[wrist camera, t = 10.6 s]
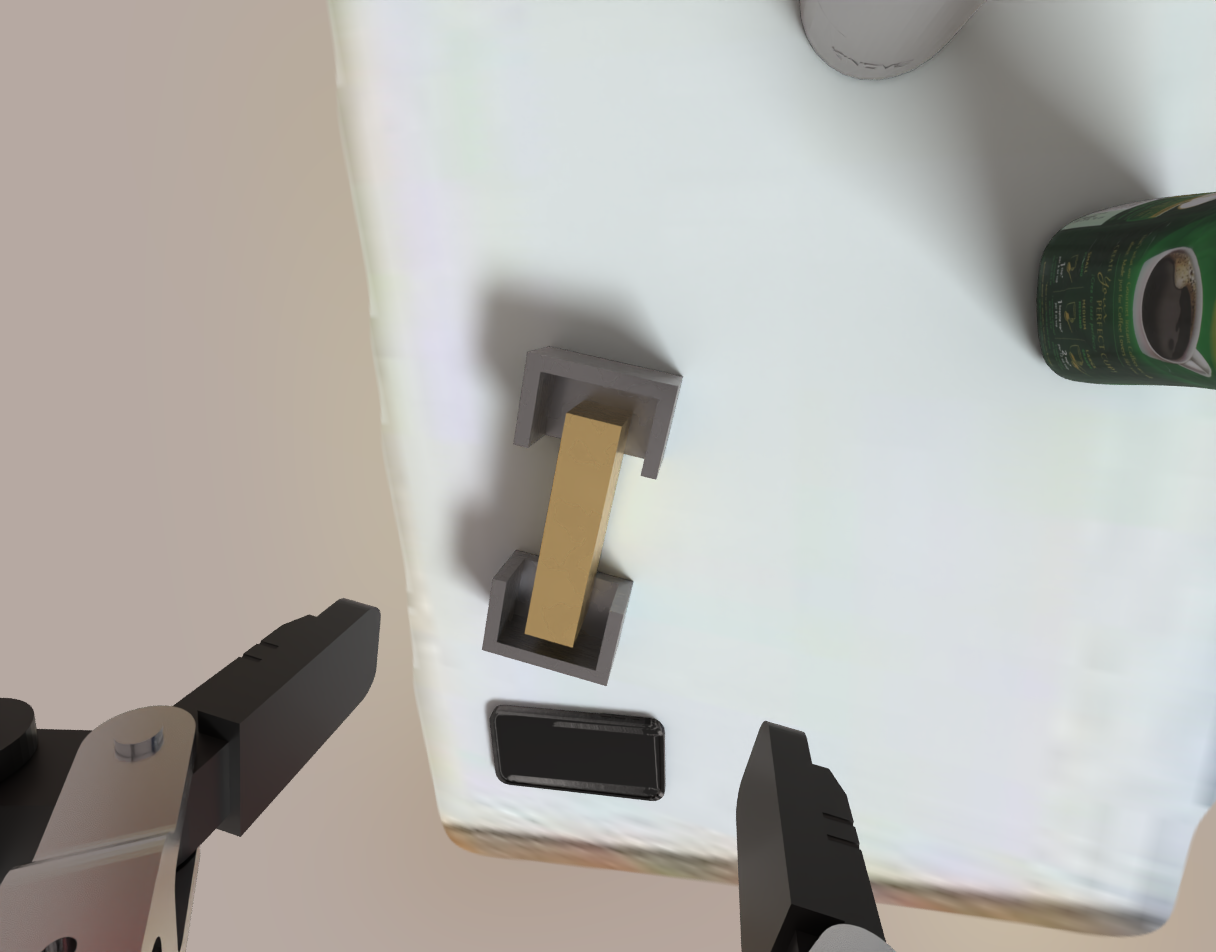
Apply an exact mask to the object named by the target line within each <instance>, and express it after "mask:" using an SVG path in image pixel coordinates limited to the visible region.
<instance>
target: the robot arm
mask: <svg viewBox="0 0 1216 952" xmlns="http://www.w3.org/2000/svg"><path fill="white" fill-rule="evenodd" d="M985 1H986V0H799V2H800V12H801V20H802V23H803V26H804V29H805V32H806V36H807V38H808V40H809V42H810V43H811V45H812V47H813V48H814V50H815V52H816V53H817V54H818V55H819V56H820V57H821V58H822V59H823V60H824V61H825V62H826V63H827V64H828V65H829V66H830V67H832V68H834V69H835V70H837V71H839V72H840V73H842V74H844V75H847V76H851V77H854V78H858V79H868V80H880V79H885V78H891V77H896V76H899V75H901V74H904V73H906V72H908V71H911V70H913V69H915V68H917V67H918V66H920V65H922V64H923V63H925V62H926V61H928V60H929V59H931V58H932V57H933V56H934V55H935V54H937V53H938V52H939V51H940V50H941V49H942V48H943V47H944V46H945V45H946V44H947V43H948V42H949V41H950V40H951V39H952V38H953V37H954V36H955V34H956V33H957V32H958V31H959V30H960V29H961V28H962V27H963V25H964V24H965V23H966V22H967V21H968V20H969V19H970V18H971V16H972V15H973V14H974V13H975V12H976V11H977V10H978V9H979V8H980V7H981V6H982V5H983V3H984V2H985ZM380 616H381V615H380V610H379V609H378V608H376V607H373V606H370V605H366V604H363V603H359V602H356V601H352V600H349V599H345V598H343V599H339V600H338V601H336V602H335V603H334V604H332V605H331V606H330V607H329V608H327V609H326V610H325V611H323V612H322V613H321V614H320V615H319V616H317V617H315V616H312V615H307V616H304V617H302V618H299V619H297V620H294V621H292V622H289V623H286V624H284V625H282V626H280V627H279V628H278V629H276V630H275V631H273V632H272V633H271V634H270V635H268V636H267V637H265V638H264V639H263V640H261V643H260V644H256V645H255V646H253V647H252V648H251V649H249V650H248V651H247V652H245V653H244V654H243V657H242V658H241V657H238V658H237V659H236V660H234V661H233V662H232V663H230V664H229V665H228V666H226V667H225V668H224V669H222V670H221V671H219V672H218V673H217V674H215V675H214V676H213V677H211V678H210V679H209V680H207V681H206V682H205V683H203V684H202V685H200V686H199V687H198V688H196V689H195V690H194V691H192V692H191V693H190V694H188V695H187V696H186V697H184V698H183V699H182V700H180V701H179V702H178V703H176V704H175V705H174V706H149V707H144V708H138V709H135V710H131V711H128V712H125V713H123V714H120V715H117V716H115V717H114V718H111V719H109V720H108V721H106V722H104V723H103V724H101V725H99V726H98V727H97V728H95V729H94V730H93V731H90V730H89V731H88V730H54V729H36V723H35V717H34V711H33V709H32V707H31V706H30V705H28V704H27V703H26V702H23V701H21V700H17V699H11V698H0V952H186V947H187V940H188V933H189V927H190V920H191V914H192V907H193V900H194V893H195V887H196V880H197V873H198V867H199V861H200V845H201V844H202V843H203V842H204V841H205V839H207V837H208V836H209V835H210V834H211V833H212V832H213V831H214V830H215V829H219V830H222V831H226V832H228V833H231V834H234V835H237V836H240V837H241V836H242V835H243V833H244V832H245V831H246V830H247V829H248V828H249V827H250V826H251V825H252V823H253V822H254V821H255V820H256V819H257V818H258V817H259V816H260V814H261V813H262V812H263V811H264V810H265V809H266V808H267V807H268V806H269V804H270V803H271V802H272V801H273V800H274V799H275V798H276V797H277V795H278V794H279V793H280V792H281V791H282V790H283V789H284V787H285V786H286V785H287V784H288V783H289V782H290V781H291V780H292V779H293V777H294V776H295V775H296V774H297V773H298V772H299V771H300V769H301V768H302V767H303V766H304V765H305V764H306V763H307V762H308V761H309V760H310V758H311V757H312V756H313V755H314V754H315V753H316V752H317V751H318V749H319V748H320V747H321V746H322V745H323V744H324V742H326V740H327V739H328V738H329V737H330V736H331V735H332V734H333V733H334V731H335V730H336V729H337V728H338V727H339V726H340V725H341V724H342V723H343V721H344V720H345V719H346V718H347V717H348V716H349V714H351V712H352V711H353V710H354V709H355V708H356V707H357V706H358V705H359V703H360V702H361V701H362V700H363V699H364V697H365V696H366V694H367V693H368V691H369V689H370V687H371V684H372V682H373V680H374V677H375V673H376V665H377V654H378V642H379V630H380ZM853 822H854V821H853V818H852V814H851V810H850V806H849V803H848V799H847V795H846V794H845V792H844V791H843V789H842V788H841V786H840V785H839V783H838V782H837V780H836V779H835V777H834V776H833V774H832V773H831V771H830V770H829V769H828V768H824V767H821V766H818V765H814V764H812V761H811V756H810V752H809V747H808V742H807V738H806V735H805V733H804V732H802V731H799V730H795V729H792V728H788V727H785V726H781V725H778V724H774V723H771V722H767V721H764V722H763V723H762V725H761V727H760V730H759V732H758V735H757V738H756V741H755V744H754V746H753V749H752V752H751V755H750V758H749V761H748V763H747V766H746V769H745V772H744V775H743V777H742V780H741V784H740V788H739V793H738V799H737V808H736V826H737V850H738V875H739V898H740V922H741V947H742V952H895V951H894V949H893V948H891V946H889V945H888V944H887V943H886V940H885V937H884V933H883V930H882V926H881V922H880V918H879V915H878V911H877V907H876V903H875V900H874V896H873V892H872V889H871V885H870V881H869V877H868V874H867V870H866V866H865V862H864V859H863V855H862V851H861V850H860V849H859V840H858V836H857V832H856V829H855V827H853Z"/></svg>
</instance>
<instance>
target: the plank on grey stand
mask: <svg viewBox="0 0 1216 952" xmlns="http://www.w3.org/2000/svg"><path fill="white" fill-rule="evenodd" d="M682 378H683V376H678V375H674V374H670V373H665V372H661V371H656V370H652V369H647V368H643V367H639V366H634V365H630V364H625V363H621V362H617V361H612V360H608V359H603V358H599V357H595V356H590V355H586V354H581V353H577V352H572V351H568V350H564V349H559V348H555V347H550V346H549V347H545V348H541V349H537V350H533V351H529V352H527V359H526V365H525V372H524V379H523V385H522V392H521V398H520V405H519V411H518V418H517V424H516V431H515V437H514V444H515V445H519V446H523V447H527V448H528V447H530V446H531V445H532V444H534V443H535V442H536V441H538V440H539V439H540V438H542V437H543V436H544V435H549V436H553V437H557V438H562V433H563V427H564V422H565V417H566V413H567V412H568V411H570V410H571V409H572V408H574V407H575V406H576V405H578V404H579V403H581V402H582V401H583V400H586V401H590V402H594V403H598V404H602V405H606V406H610V407H615V408H619V409H623V410H627V411H631V412H633V414H632V418H631V423H630V427H629V432H628V436H627V441H626V445H625V449H624V454H627V455H631V456H635V457H639V458H643V459H644V464H643V468H642V472H641V476H644V477H648V478H652V479H656V478H657V475H658V473H659V470H660V467H661V464H662V461H663V457H664V453H665V449H666V445H667V441H668V436H669V432H670V428H671V424H672V420H673V416H674V412H675V407H676V403H677V399H678V395H679V391H680V387H681V383H682ZM538 560H539V556H537V555H533V554H529V553H525V552H522V551H518V550H516V551H515V552H514V553H513V555H512V556H511V557H510V558H509V560H508V561H507V562H506V563H505V564H504V566H503V567H502V568H501V569H500V571H499V572H498V573H497V574H496V576H495V577H494V578H493V581H492V588H491V595H490V601H489V608H488V614H487V621H486V627H485V634H484V640H483V647H482V650H484V651H488V652H491V653H495V654H498V655H501V656H505V657H508V658H512V659H515V660H519V661H522V662H526V663H529V664H532V665H536V666H539V667H543V668H546V669H550V670H553V671H556V672H560V673H563V674H567V675H570V676H574V677H577V678H581V679H584V680H587V681H591V682H594V683H598V684H601V685H605V686H607V683H608V679H609V676H610V672H611V668H612V665H613V661H614V658H615V654H616V651H617V647H618V643H619V639H620V635H621V631H622V627H623V623H624V619H625V614H626V610H627V606H628V602H629V598H630V594H631V590H632V585H633V581H630V580H626V579H622V578H618V577H615V576H611V575H607V574H603V573H600V572H597V573H596V577H595V581H594V586H593V590H592V595H591V599H590V604H589V608H588V612H587V614H586V617H585V619H584V621H583V624H582V626H581V629H580V631H579V633H578V636H577V638H576V641H575V643H574V645H573V648H572V647H568V646H565V645H562V644H558V643H555V642H551V641H548V640H545V639H541V638H538V637H534V636H531V635H527V634H525V629H526V623H527V618H528V613H529V607H530V602H531V597H532V592H533V586H534V581H535V576H536V570H537V565H538Z"/></svg>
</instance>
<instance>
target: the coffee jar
mask: <svg viewBox="0 0 1216 952" xmlns="http://www.w3.org/2000/svg"><path fill="white" fill-rule="evenodd" d="M1037 322H1038V333H1039V339H1040V346H1041V350H1042V354H1043V357H1044V360H1045V362H1046V363H1047V365H1048V366H1049V367H1050V368H1051V369H1052V370H1053V371H1054V372H1055V373H1056V374H1058V375H1059V376H1061V377H1063V378H1065V379H1069V380H1072V381H1078V382H1085V383H1094V384H1109V385H1166V386H1186V387H1199V388H1207V389H1215V390H1216V192H1211V193H1200V194H1191V195H1181V196H1173V197H1165V198H1158V199H1151V200H1145V201H1139V202H1133V203H1128V204H1124V205H1120V206H1116V207H1112V208H1108V209H1105V210H1101V211H1098V212H1095V213H1092V214H1089V215H1086V216H1084V217H1081V218H1079V219H1077V220H1075V221H1073V222H1071V223H1070V224H1068V225H1066V226H1065V227H1064V228H1062V229H1061V230H1060V231H1059V232H1058V233H1057V234H1056V235H1055V236H1054V237H1053V238H1052V240H1051V241H1050V242H1049V244H1048V245H1047V247H1046V249H1045V251H1044V253H1043V256H1042V259H1041V263H1040V270H1039V277H1038V287H1037Z"/></svg>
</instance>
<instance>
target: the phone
mask: <svg viewBox="0 0 1216 952" xmlns="http://www.w3.org/2000/svg"><path fill="white" fill-rule="evenodd" d="M490 728H491V737H492V746H493V754H494V763H495V771H496V776H497V777H498V779H499V780H500V781H501V782H503V783H505V784H509V785H517V786H525V787H534V788H543V789H552V790H561V791H569V792H578V793H587V794H596V795H604V796H613V797H622V798H631V799H640V800H648V801H656V800H659V799H661V798H662V797H663V796H664V792H665V730H664V727H663V725H662V724H661V723H660V722H659V721H657V720H656V719H652V718H643V717H632V716H621V715H609V714H598V713H587V712H576V711H564V710H553V709H542V708H530V707H519V706H508V705H500V706H498V707H496V708H495V709H494V711H493V713H492V715H491V717H490Z"/></svg>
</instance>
